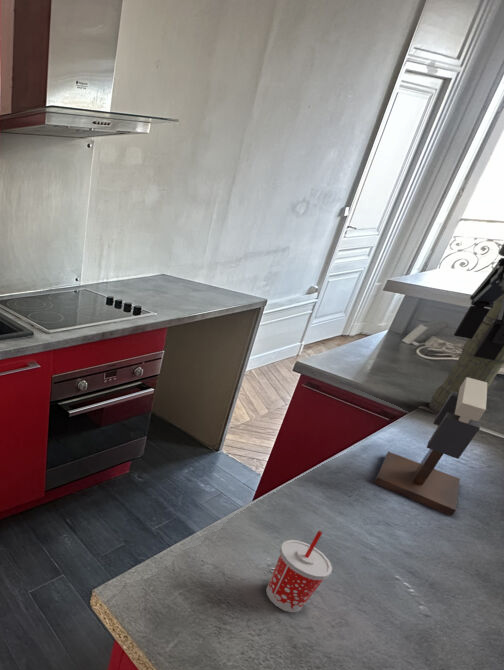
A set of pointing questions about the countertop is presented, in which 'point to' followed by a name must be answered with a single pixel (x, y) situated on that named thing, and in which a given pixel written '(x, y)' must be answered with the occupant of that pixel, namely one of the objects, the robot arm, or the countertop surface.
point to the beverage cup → (297, 574)
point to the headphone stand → (420, 481)
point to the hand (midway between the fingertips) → (472, 346)
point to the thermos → (471, 362)
